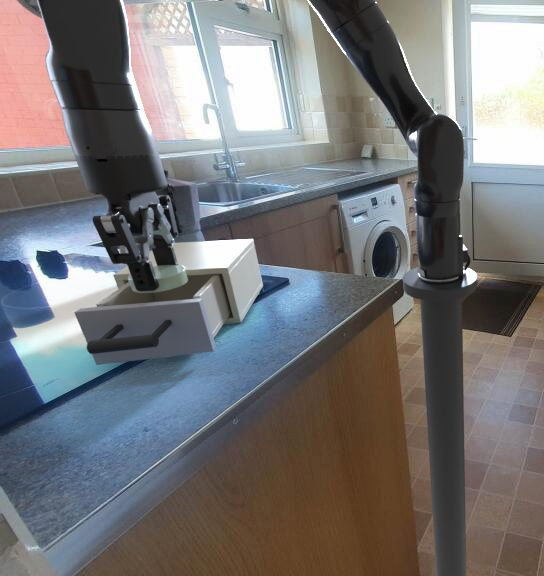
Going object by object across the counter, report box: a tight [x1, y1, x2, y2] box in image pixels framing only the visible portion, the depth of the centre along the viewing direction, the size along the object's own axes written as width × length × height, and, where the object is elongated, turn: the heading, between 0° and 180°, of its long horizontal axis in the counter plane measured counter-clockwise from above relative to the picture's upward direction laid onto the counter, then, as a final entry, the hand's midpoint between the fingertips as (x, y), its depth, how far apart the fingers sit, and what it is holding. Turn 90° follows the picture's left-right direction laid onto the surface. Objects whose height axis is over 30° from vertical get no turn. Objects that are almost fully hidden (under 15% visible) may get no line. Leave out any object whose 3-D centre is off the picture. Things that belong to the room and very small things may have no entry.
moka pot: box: [155, 169, 206, 243], centre depth 81 cm, size 10×15×20 cm, turn 44°
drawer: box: [73, 273, 232, 366], centre depth 55 cm, size 20×13×7 cm, turn 18°
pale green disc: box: [127, 265, 188, 293], centre depth 55 cm, size 6×6×2 cm
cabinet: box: [112, 238, 264, 325], centre depth 68 cm, size 16×14×9 cm
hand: (159, 280), depth 55 cm, fingers closed on pale green disc, 6 cm apart
